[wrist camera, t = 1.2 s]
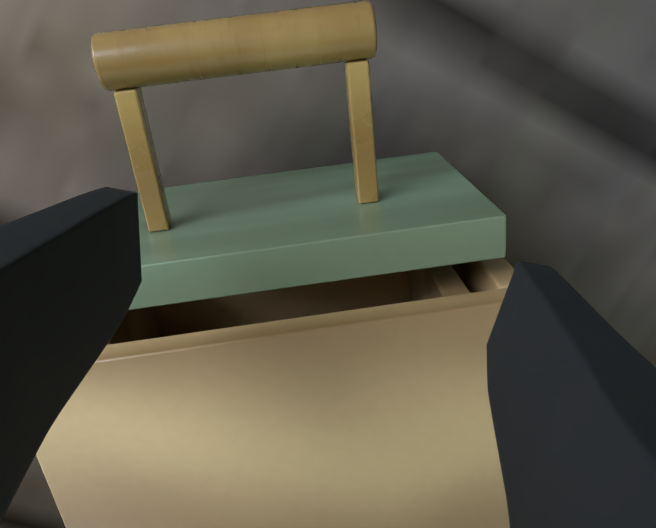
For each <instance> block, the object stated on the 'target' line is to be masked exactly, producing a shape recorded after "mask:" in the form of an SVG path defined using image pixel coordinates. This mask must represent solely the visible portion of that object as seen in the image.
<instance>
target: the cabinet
mask: <svg viewBox="0 0 656 528" xmlns="http://www.w3.org/2000/svg"><path fill="white" fill-rule="evenodd" d="M452 267H453V268H454V269H455V271H456V272H457V274H458V275H459V277H460V278H461V280H462V281H463V283H464V284H465V285H466V287H467V288H468V290H469V291H470V293H467V294H460V295H453V296H446V297H439V298H432V299H425V300H418V301H411V302H404V303H397V304H390V305H383V306H376V307H369V308H362V309H355V310H348V311H341V312H334V313H327V314H320V315H313V316H306V317H299V318H292V319H285V320H278V321H271V322H264V323H257V324H250V325H243V326H236V327H229V328H222V329H215V330H208V331H201V332H194V333H187V334H180V335H173V336H166V337H159V338H152V339H145V340H138V341H131V342H124V343H117V344H110V345H106V347H105V348H104V350H103V351H102V353H101V354H100V356H99V357H98V359H97V360H96V361H95V363H94V364H93V366H92V367H91V369H90V370H89V372H88V373H87V374H86V376H85V377H84V379H83V380H82V382H81V383H80V385H79V386H78V387H77V389H76V390H75V392H74V393H73V395H72V396H71V398H70V399H69V400H68V402H67V403H66V405H65V406H64V408H63V409H62V411H61V412H60V414H59V415H58V417H57V418H56V420H55V422H54V423H53V425H52V426H51V428H50V430H49V431H48V433H47V435H46V437H45V438H44V440H43V442H42V444H41V446H40V448H39V450H38V451H37V453H36V456H37V458H38V461H39V463H40V466H41V468H42V471H43V473H44V475H45V478H46V480H47V483H48V485H49V488H50V490H51V493H52V495H53V497H54V500H55V502H56V505H57V507H58V510H59V512H60V514H61V517H62V519H63V522H64V524H65V527H66V528H510V523H509V515H508V507H507V499H506V493H505V487H504V482H503V476H502V471H501V465H500V459H499V454H498V448H497V443H496V437H495V431H494V426H493V420H492V414H491V408H490V402H489V396H488V385H487V342H488V339H489V337H490V334H491V331H492V329H493V326H494V323H495V320H496V318H497V315H498V312H499V310H500V307H501V304H502V301H503V299H504V296H505V293H506V291H507V288H508V285H509V283H510V280H511V277H512V274H513V272H514V268H513V267H512V266H511V265H510V264H509V263H508V262H507V261H506V259H505V258H497V259H489V260H482V261H475V262H468V263H461V264H454V265H452Z"/></svg>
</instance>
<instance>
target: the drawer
mask: <svg viewBox="0 0 656 528" xmlns="http://www.w3.org/2000/svg"><path fill="white" fill-rule="evenodd" d="M376 51H377V27H376V19H375V13H374V9H373V6H372V4H371V2H370V1H358V2H350V3H342V4H333V5H325V6H317V7H308V8H300V9H292V10H283V11H275V12H267V13H258V14H250V15H242V16H233V17H225V18H217V19H208V20H200V21H192V22H183V23H175V24H167V25H158V26H150V27H142V28H133V29H125V30H117V31H108V32H100V33H95V34H94V35H93V36H92V38H91V54H92V60H93V64H94V68H95V71H96V74H97V77H98V79H99V81H100V83H101V85H102V86H103V88H104V89H105V90H108V91H114V90H117V91H115V92H114V97H115V101H116V105H117V109H118V113H119V117H120V120H121V124H122V128H123V132H124V136H125V140H126V144H127V148H128V152H129V156H130V160H131V164H132V168H133V172H134V176H135V180H136V184H137V188H138V191H133V192H136V193H138V214H139V234H140V255H141V275H142V282H141V284H140V286H139V288H138V291H137V293H136V295H135V297H134V299H133V301H132V303H131V305H130V307H129V309H128V311H127V313H126V315H125V317H124V319H123V321H122V323H121V325H120V326H119V328H118V329H117V331H116V332H115V334H114V335H113V337H112V338H111V340H110V341H109V342H108V344H107V345H110V344H117V343H124V342H131V341H138V340H145V339H152V338H159V337H166V336H173V335H180V334H187V333H194V332H201V331H208V330H215V329H222V328H229V327H236V326H243V325H250V324H257V323H264V322H271V321H278V320H285V319H292V318H299V317H306V316H313V315H320V314H327V313H334V312H341V311H348V310H355V309H362V308H369V307H376V306H383V305H390V304H397V303H404V302H411V301H418V300H425V299H432V298H439V297H446V296H453V295H460V294H467V293H470V291H469V290H468V288H467V287H466V285H465V284H464V283H463V281H462V280H461V278H460V277H459V275H458V274H457V272H456V271H455V269H454V268H453V267H452V265H454V264H461V263H468V262H475V261H482V260H489V259H497V258H504V257H505V256H506V225H507V216H506V215H505V214H504V213H503V212H502V211H501V210H500V209H499V208H498V207H497V206H495V205H494V204H493V203H492V202H491V201H490V200H489V199H488V198H487V197H486V196H485V195H483V194H482V193H481V192H480V191H479V190H478V189H477V188H476V187H475V186H474V185H473V184H472V183H470V182H469V181H468V180H467V179H466V178H465V177H464V176H463V175H462V174H461V173H460V172H458V171H457V170H456V169H455V168H454V167H453V166H452V165H451V164H450V163H449V162H448V161H447V160H445V159H444V158H443V157H442V156H441V155H440V154H439V153H438V152H429V153H421V154H414V155H406V156H399V157H391V158H383V159H376V152H375V139H374V125H373V112H372V98H371V85H370V72H369V62H368V60H366V59H371V58H373V57H375V55H376ZM339 62H344V70H345V81H346V91H347V102H348V113H349V124H350V135H351V146H352V157H353V163H345V164H338V165H330V166H323V167H315V168H307V169H300V170H292V171H285V172H277V173H270V174H262V175H254V176H247V177H239V178H232V179H224V180H216V181H209V182H201V183H194V184H186V185H179V186H171V187H164V186H163V182H162V178H161V173H160V169H159V165H158V160H157V156H156V152H155V148H154V143H153V139H152V135H151V130H150V126H149V122H148V118H147V113H146V109H145V105H144V101H143V96H142V92H141V89H140V87H146V86H154V85H162V84H170V83H178V82H186V81H194V80H202V79H210V78H218V77H226V76H234V75H242V74H250V73H258V72H266V71H274V70H283V69H291V68H299V67H307V66H315V65H323V64H331V63H339Z"/></svg>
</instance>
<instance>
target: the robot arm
mask: <svg viewBox="0 0 656 528" xmlns="http://www.w3.org/2000/svg"><path fill="white" fill-rule="evenodd" d="M141 282H142V275H141V255H140V234H139V214H138V193H136V192H131V191H125V190H120V189H114V188H109V187H105V188H101V189H97V190H94V191H91V192H88V193H85V194H82V195H79V196H77V197H74V198H71V199H69V200H66V201H63V202H61V203H58V204H56V205H53V206H51V207H48V208H45V209H43V210H40V211H38V212H35V213H33V214H30V215H27V216H25V217H22V218H20V219H17V220H14V221H12V222H9V223H6V224H3V225H0V523H1V521H2V519H3V517H4V515H5V513H6V511H7V509H8V507H9V505H10V503H11V501H12V499H13V497H14V495H15V493H16V491H17V489H18V487H19V485H20V483H21V481H22V479H23V477H24V476H25V474H26V472H27V470H28V468H29V466H30V464H31V463H32V461H33V459H34V457H35V455H36V453H37V451H38V450H39V448H40V446H41V444H42V442H43V440H44V438H45V437H46V435H47V433H48V431H49V430H50V428H51V426H52V425H53V423H54V422H55V420H56V418H57V417H58V415H59V414H60V412H61V411H62V409H63V408H64V406H65V405H66V403H67V402H68V400H69V399H70V398H71V396H72V395H73V393H74V392H75V390H76V389H77V387H78V386H79V385H80V383H81V382H82V380H83V379H84V377H85V376H86V374H87V373H88V372H89V370H90V369H91V367H92V366H93V364H94V363H95V361H96V360H97V359H98V357H99V356H100V354H101V353H102V351H103V350H104V348H105V347H106V345H107V344H108V342H109V341H110V340H111V338H112V337H113V335H114V334H115V332H116V331H117V329H118V328H119V326H120V325H121V323H122V321H123V319H124V317H125V315H126V313H127V311H128V309H129V307H130V305H131V303H132V301H133V299H134V297H135V295H136V293H137V291H138V288H139V286H140V284H141ZM487 385H488V396H489V402H490V408H491V414H492V420H493V426H494V431H495V437H496V443H497V448H498V454H499V459H500V465H501V471H502V476H503V482H504V487H505V493H506V499H507V507H508V515H509V523H510V528H656V367H654V366H653V365H652V364H651V363H650V362H649V361H648V360H647V359H645V358H644V357H643V356H642V355H641V354H640V353H639V352H638V351H636V350H635V349H634V348H633V347H632V346H631V345H630V344H629V343H628V342H627V341H626V340H625V339H624V338H623V337H622V336H621V335H620V334H619V333H618V332H616V331H615V330H614V329H613V328H612V327H611V326H610V325H609V324H608V323H607V322H606V321H605V320H604V319H603V318H602V317H601V316H600V315H599V314H598V313H597V312H596V311H595V310H594V309H593V308H592V307H591V306H590V305H589V303H588V302H587V301H586V300H585V299H584V298H583V297H582V296H581V295H580V294H579V293H578V292H577V291H576V290H575V289H574V288H573V287H572V286H571V285H570V284H569V283H568V282H567V281H566V280H565V279H564V278H563V277H562V276H561V275H559V274H558V273H557V272H556V271H555V270H554V269H553V268H551V267H549V266H543V265H538V264H532V263H526V262H521V261H517V264H516V266H515V269H514V272H513V274H512V277H511V280H510V283H509V285H508V288H507V291H506V293H505V296H504V299H503V301H502V304H501V307H500V310H499V312H498V315H497V318H496V320H495V323H494V326H493V329H492V331H491V334H490V337H489V339H488V342H487Z"/></svg>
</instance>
